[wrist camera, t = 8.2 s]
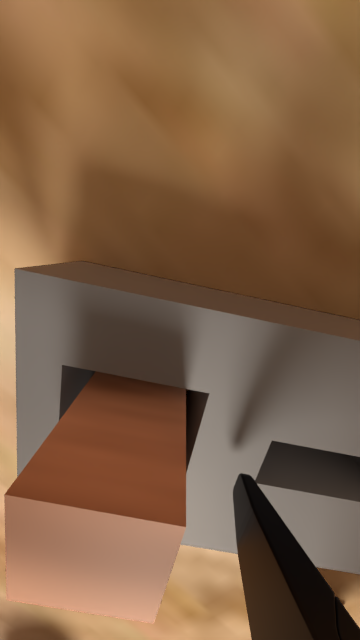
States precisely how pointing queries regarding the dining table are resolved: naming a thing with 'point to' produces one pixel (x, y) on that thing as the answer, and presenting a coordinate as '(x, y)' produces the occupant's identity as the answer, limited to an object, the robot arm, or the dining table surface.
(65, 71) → the dining table surface
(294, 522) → the socket board
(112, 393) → the peg
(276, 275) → the dining table surface
